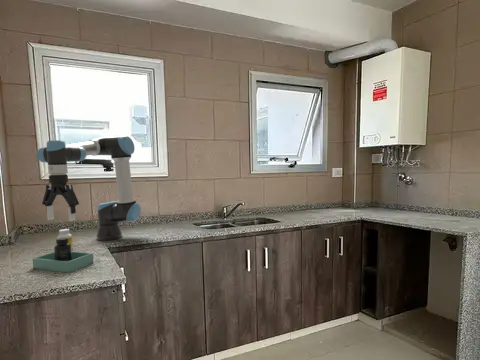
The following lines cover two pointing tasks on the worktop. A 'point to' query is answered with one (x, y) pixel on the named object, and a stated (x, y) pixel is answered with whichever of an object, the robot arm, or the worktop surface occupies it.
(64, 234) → the supplement bottle
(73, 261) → the green tray
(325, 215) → the worktop surface
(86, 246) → the worktop surface
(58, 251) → the supplement bottle
